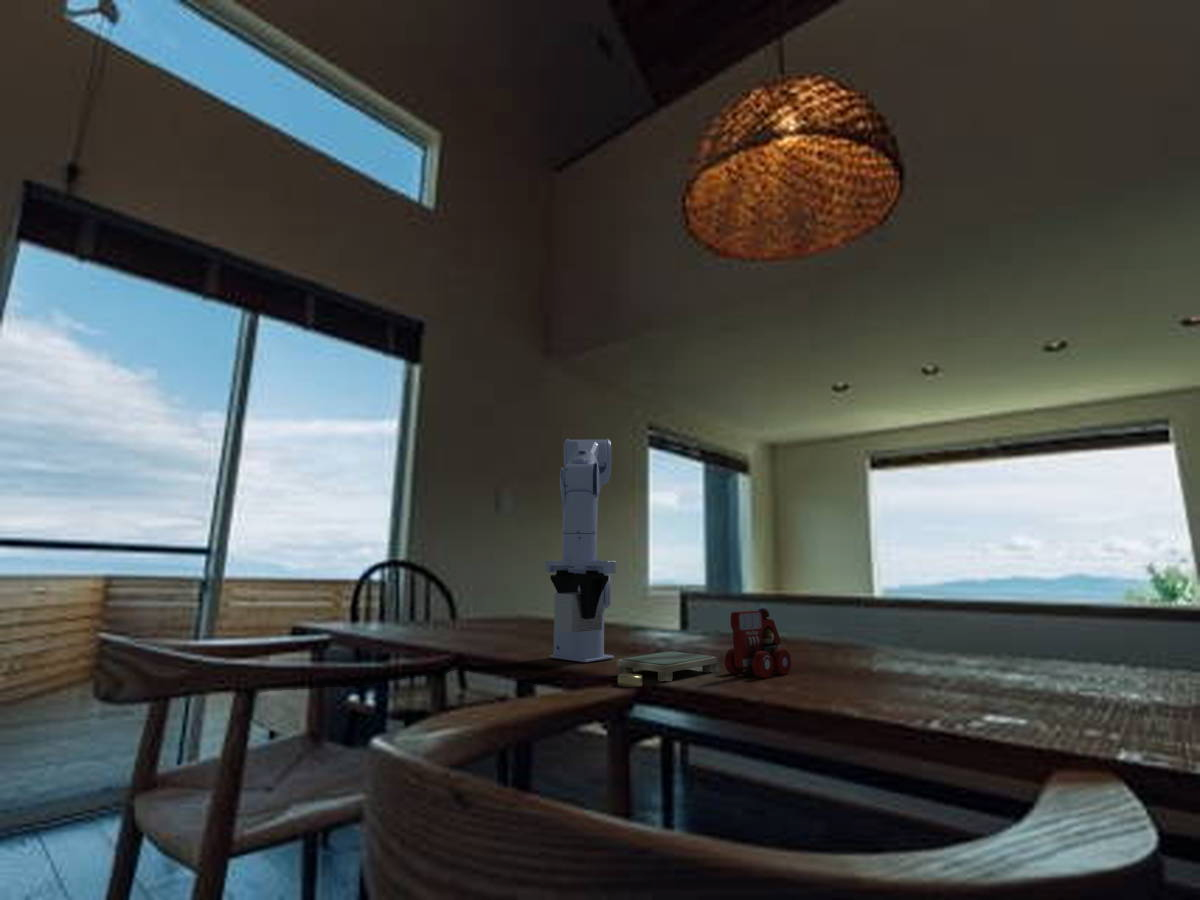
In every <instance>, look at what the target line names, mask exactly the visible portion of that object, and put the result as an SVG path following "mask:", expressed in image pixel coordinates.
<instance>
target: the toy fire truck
mask: <svg viewBox="0 0 1200 900" xmlns="http://www.w3.org/2000/svg"><path fill="white" fill-rule="evenodd" d="M730 628H731V630H732V643H733V647H732V648H730V649H728V650H727V651H726V654H725V657H724V666H725V669H726V671H727V672H728V673H729V674H731V675H740V674H742V673H743V672H744V671H752V672H753V674H754V675H755V676H756V677H757V678H759V679H768V678H770V677H771V676H772V675H773V673H774V674H776V675H781V676H785V675H788V674H789V673H790V671H791V667H792V660H791V654H790V653H789V651H788V650H787V649H784V648H782V641H781V637H780V635H779V631H778V629H777V626H776V623H775V620H774V619H772V618H770V612H769V610H768V609H767V608H764V607H761V608H759V609H758V610H740V611H738V610H737V611H732V612H731V613H730Z"/></svg>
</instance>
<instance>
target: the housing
mask: <svg viewBox="0 0 1200 900" xmlns="http://www.w3.org/2000/svg"><path fill="white" fill-rule="evenodd" d="M553 607H554V621H553V622H554V623H553V632H554V631H557V632H567V633H576V632H585V631H594V630H602V593H601V596H600V599H599V602H598V606H597V610H596V614H595V618H593V619H583V614H582V597H581V591H577V592H570V593H557V592H556V593H555V592H554V606H553Z"/></svg>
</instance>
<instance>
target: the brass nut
mask: <svg viewBox="0 0 1200 900" xmlns="http://www.w3.org/2000/svg"><path fill="white" fill-rule="evenodd" d="M617 686H619V687H624V688H637V687H639V688H640V687H642V686H643V675H642V674H638V673H633V674H620V675H619V674H618V675H617Z"/></svg>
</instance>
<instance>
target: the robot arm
mask: <svg viewBox="0 0 1200 900" xmlns="http://www.w3.org/2000/svg"><path fill="white" fill-rule="evenodd" d="M563 466H564V467H563ZM563 466H561V467H560V473H559V488H560V495H561V497H560V498H561V507H562V549H561V550H562V557H561V558H562V559H561V560H546V561H545V573H555V574H551V575H550V578H549V579H550V580H551V582H552V584H553V586H554V588H555V590H556V593H570V592H577V591H581V597H582V614H583V619H593V618H595V614H596V610H597V606H598V602H599V599H600V596H601V593H602V630H594V631H585V632H576V633H567V632H557V631H554V630H553V654H550V656H549V657H550V658H551V659H559V660H566V661H573V662H579V663H591V662H596V661H603V660H609V659H614V658H615V656H614V655H613V654H605V609H608V608H609V607H610V606H611V605H612V604H611V603H612V602H611V599H612V586H611V585H612V582H611V581H612V580H611V574H616V566H617V565H616V564H617V563H616V560H601V559H599V558H598V523H599V522H598V516H599V515H598V514H599V513H598V511H599V497H600V492H601V490H602V487H603V486H605V485H606V484H608V483H609V482H610V478H611V475H612V473H611V469H612V468H611V467H612V441H611V439H609V438H606V439H570V438H566V440H565V441H564V442H563Z"/></svg>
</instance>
